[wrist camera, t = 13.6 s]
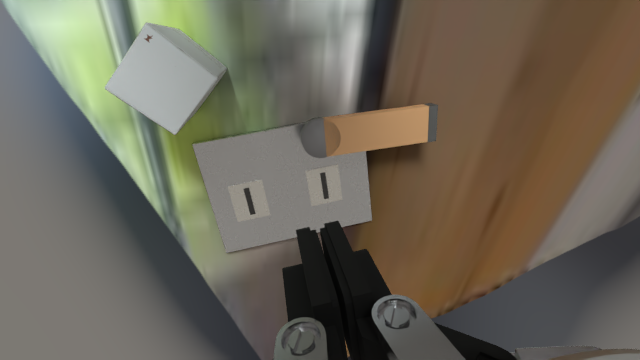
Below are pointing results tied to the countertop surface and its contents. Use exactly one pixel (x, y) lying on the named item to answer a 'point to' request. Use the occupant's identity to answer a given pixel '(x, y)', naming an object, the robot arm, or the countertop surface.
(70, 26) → the countertop surface
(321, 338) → the robot arm
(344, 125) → the swing arm
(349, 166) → the board
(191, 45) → the supplement box
